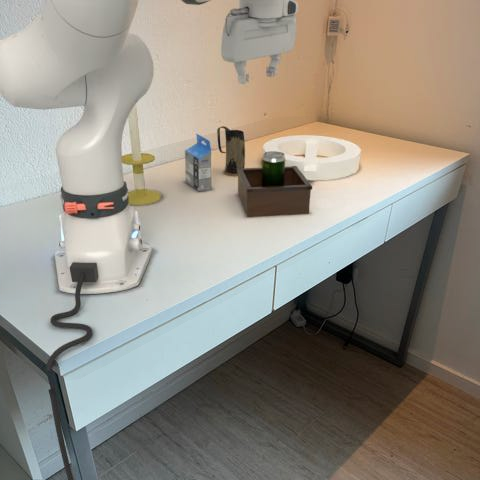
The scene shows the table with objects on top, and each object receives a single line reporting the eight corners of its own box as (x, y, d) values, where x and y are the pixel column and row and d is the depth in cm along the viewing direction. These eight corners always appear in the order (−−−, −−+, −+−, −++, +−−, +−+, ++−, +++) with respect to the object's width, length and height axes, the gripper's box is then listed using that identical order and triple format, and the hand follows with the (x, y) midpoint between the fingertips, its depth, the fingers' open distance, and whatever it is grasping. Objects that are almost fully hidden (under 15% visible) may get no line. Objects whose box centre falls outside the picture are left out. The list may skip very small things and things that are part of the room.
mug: (248, 171, 148) (248, 127, 141) (239, 177, 144) (239, 132, 137) (223, 167, 151) (223, 124, 144) (214, 172, 147) (213, 128, 140)
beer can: (272, 209, 124) (275, 159, 117) (256, 203, 127) (257, 154, 121) (287, 204, 127) (290, 154, 121) (271, 198, 130) (273, 149, 124)
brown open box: (309, 214, 122) (312, 186, 118) (246, 217, 120) (246, 189, 116) (294, 191, 134) (296, 166, 131) (237, 194, 132) (237, 168, 129)
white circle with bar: (311, 145, 170) (312, 130, 167) (378, 167, 152) (381, 150, 149) (243, 161, 156) (243, 145, 153) (308, 187, 137) (310, 169, 135)
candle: (112, 197, 130) (96, 80, 115) (145, 188, 136) (134, 74, 121) (136, 208, 124) (123, 85, 109) (169, 197, 130) (161, 80, 115)
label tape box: (185, 181, 140) (182, 134, 134) (198, 179, 142) (197, 132, 135) (198, 192, 134) (196, 143, 127) (212, 189, 136) (211, 141, 129)
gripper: (238, 11, 97) (236, 90, 105) (303, 3, 109) (296, 75, 118) (214, 7, 100) (213, 84, 109) (279, 0, 113) (274, 70, 121)
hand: (257, 79), depth 113 cm, fingers open, 8 cm apart
